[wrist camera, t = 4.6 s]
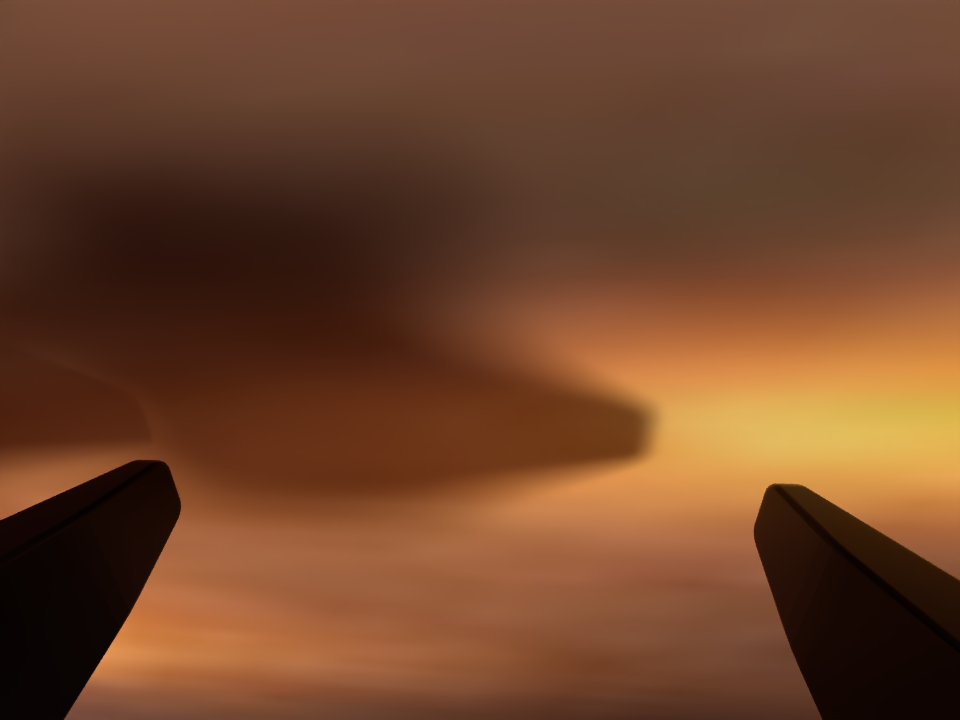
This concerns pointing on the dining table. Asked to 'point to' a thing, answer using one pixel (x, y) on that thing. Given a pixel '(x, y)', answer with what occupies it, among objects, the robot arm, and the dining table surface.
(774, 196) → the dining table surface
